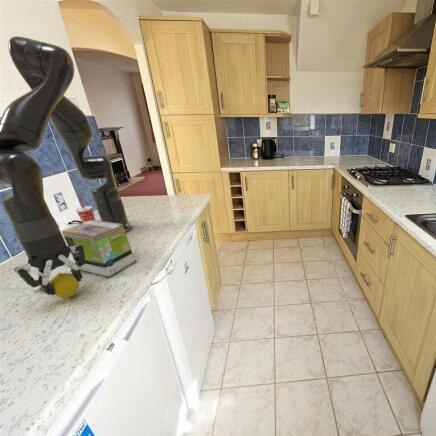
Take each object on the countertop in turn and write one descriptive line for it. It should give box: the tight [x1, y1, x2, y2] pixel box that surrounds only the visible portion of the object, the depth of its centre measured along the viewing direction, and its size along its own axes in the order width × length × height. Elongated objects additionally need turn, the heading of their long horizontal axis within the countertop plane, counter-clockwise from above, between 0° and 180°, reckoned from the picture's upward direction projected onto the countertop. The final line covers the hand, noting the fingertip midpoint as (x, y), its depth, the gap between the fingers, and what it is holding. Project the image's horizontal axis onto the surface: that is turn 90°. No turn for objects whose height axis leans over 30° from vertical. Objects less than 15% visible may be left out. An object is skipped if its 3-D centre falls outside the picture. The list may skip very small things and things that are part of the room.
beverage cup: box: [75, 197, 96, 224], centre depth 112 cm, size 6×6×14 cm
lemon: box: [51, 272, 80, 299], centre depth 68 cm, size 6×6×8 cm
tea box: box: [61, 219, 135, 278], centre depth 81 cm, size 15×10×15 cm
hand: (65, 287), depth 68 cm, fingers closed on lemon, 5 cm apart
